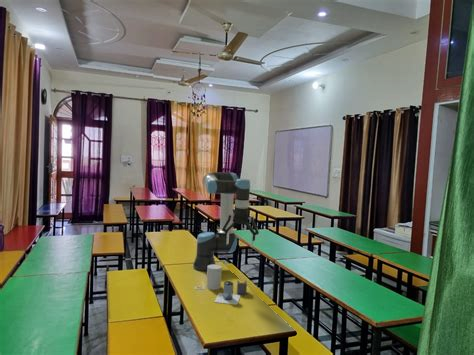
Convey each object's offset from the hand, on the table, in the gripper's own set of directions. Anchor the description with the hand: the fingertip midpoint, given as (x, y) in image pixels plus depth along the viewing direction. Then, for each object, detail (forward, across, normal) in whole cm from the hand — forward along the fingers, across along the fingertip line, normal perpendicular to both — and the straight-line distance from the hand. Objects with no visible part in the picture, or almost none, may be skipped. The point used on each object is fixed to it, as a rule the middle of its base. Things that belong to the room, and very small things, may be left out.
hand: (239, 245), depth 188 cm
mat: (+26, -3, -11) cm, 29 cm away
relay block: (+27, +3, -1) cm, 27 cm away
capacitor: (+26, -3, -11) cm, 28 cm away
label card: (+27, -21, -1) cm, 34 cm away
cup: (+27, -14, +3) cm, 31 cm away
